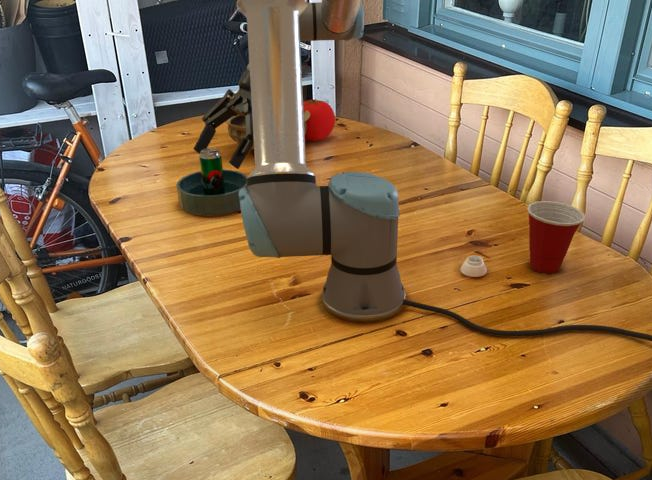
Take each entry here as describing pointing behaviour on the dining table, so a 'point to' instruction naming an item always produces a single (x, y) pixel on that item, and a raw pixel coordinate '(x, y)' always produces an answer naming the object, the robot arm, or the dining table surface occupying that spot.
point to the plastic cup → (551, 233)
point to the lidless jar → (473, 267)
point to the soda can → (212, 171)
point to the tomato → (318, 119)
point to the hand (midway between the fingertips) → (215, 159)
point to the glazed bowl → (210, 204)
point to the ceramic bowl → (239, 126)
